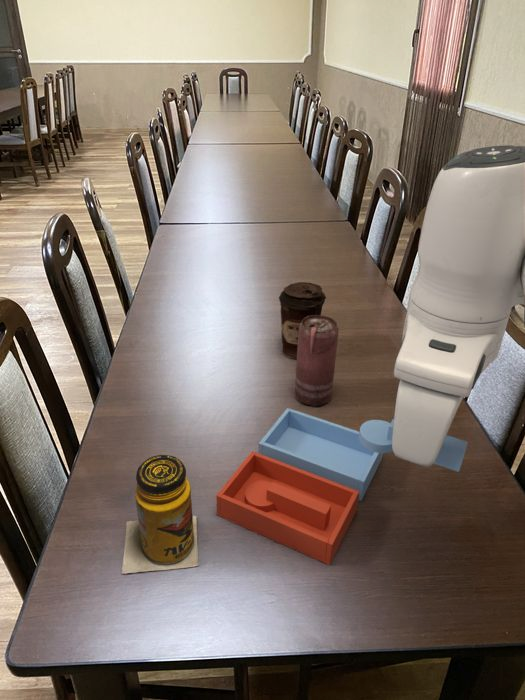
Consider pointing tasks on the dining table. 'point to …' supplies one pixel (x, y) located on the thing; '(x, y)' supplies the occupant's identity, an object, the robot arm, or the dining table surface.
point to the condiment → (161, 519)
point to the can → (316, 359)
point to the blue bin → (321, 449)
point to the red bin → (279, 524)
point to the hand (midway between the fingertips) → (426, 441)
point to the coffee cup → (298, 312)
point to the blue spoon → (380, 441)
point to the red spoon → (288, 503)
